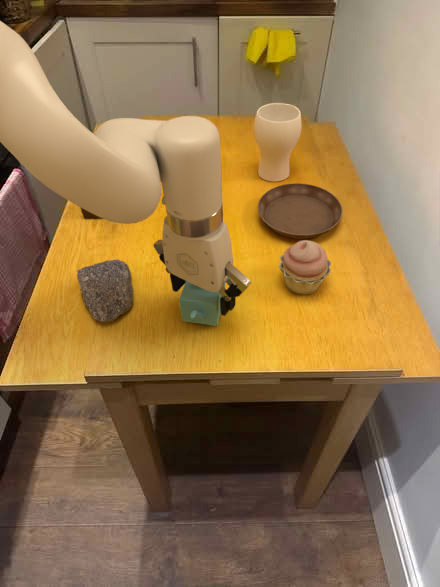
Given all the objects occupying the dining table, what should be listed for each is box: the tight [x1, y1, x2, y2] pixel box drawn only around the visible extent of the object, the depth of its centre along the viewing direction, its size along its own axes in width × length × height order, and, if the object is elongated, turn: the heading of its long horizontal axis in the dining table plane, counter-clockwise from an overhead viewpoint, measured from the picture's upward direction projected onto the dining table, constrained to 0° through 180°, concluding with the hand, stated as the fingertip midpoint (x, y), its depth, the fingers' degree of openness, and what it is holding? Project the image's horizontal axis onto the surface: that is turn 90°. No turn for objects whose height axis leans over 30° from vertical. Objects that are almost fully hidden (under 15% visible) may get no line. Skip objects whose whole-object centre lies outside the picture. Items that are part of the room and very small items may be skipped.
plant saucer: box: [257, 182, 344, 240], centre depth 87 cm, size 18×18×3 cm
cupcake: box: [278, 239, 332, 296], centre depth 72 cm, size 9×9×10 cm
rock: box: [76, 259, 134, 323], centre depth 73 cm, size 12×5×10 cm
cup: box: [253, 102, 303, 182], centre depth 95 cm, size 11×11×15 cm
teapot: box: [178, 281, 226, 327], centre depth 68 cm, size 12×6×8 cm, turn 168°
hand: (203, 297), depth 68 cm, fingers open, 9 cm apart
